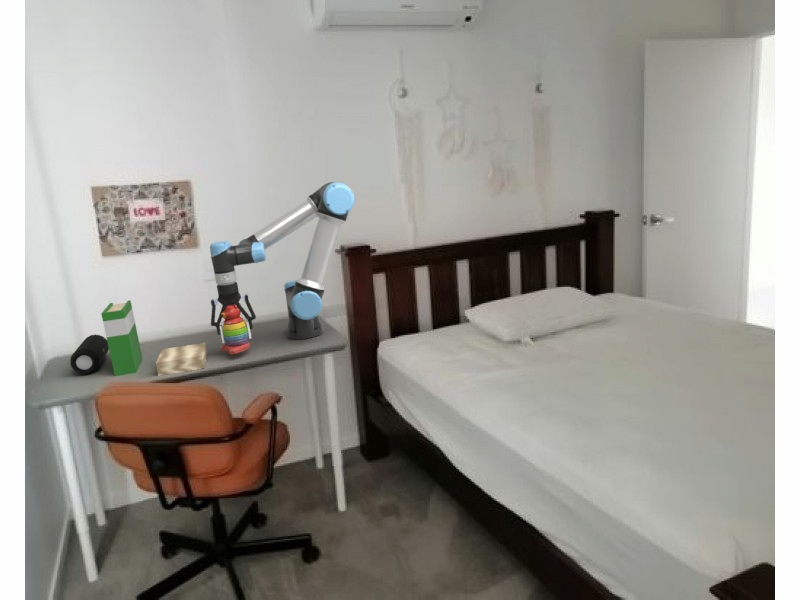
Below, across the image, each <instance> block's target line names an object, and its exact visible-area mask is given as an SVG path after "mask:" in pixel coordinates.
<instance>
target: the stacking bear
mask: <svg viewBox="0 0 800 600" xmlns="http://www.w3.org/2000/svg"><path fill="white" fill-rule="evenodd" d="M241 314H242V313H241V311H240V310H239V309H238V308H237V306H236V305H235V304H234V305H230V306H227V307H226V308H225V311H223V312H222V314H221V316H222V319H224V320H223V324H222V328H223V335H224V339H225V343H224V344H223V345H221V346H220V351H222V352H228V354H230V355H236V354H239V353H242V352H244V351H247V350H249V349H250V348H251V344H250V342H249V334H248V328H247V322H246V321H245V320H244V318H243V317H241Z"/></svg>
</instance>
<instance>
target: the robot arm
mask: <svg viewBox="0 0 800 600" xmlns="http://www.w3.org/2000/svg"><path fill="white" fill-rule="evenodd" d="M355 200H356V199H355V194H354V191H353V190H352V189H351V188H350V187H349V186H348V185H347V184H345V183H343V182H338V181H330V182H327V183H325V184H323V185H322V186H321V187H319V188H318V189H317V190H315V191H314V192H313V193H312V194H310V195H308V196H307V199H306V200H305V201H304V202H302V203H301V204H299V205H297V206H296V207H294V208H292V209H291V210H289V211H287V213H284V214H283V215H281V216H279V217H278V218H277V219H275V220H274V221H272V222H270V223H269V224H267V225H265V226H264V227H262V228H261V229H260V230H257V231H256V232H255V233H253V234H252V235H250V236H248V237H247V238H243V239H242V240H240V241H239V243H238V244H237V245H232V244H231V242H230V241H229V240H223V241H216V242H212V243H211V244H210V246H209V250H210V251H209V252H210V259H211V263H212V267H213V273H214V278H215V279H214V280H215V283H216V290H217V294H218V296H217V297H218V298H215V299H214V298H212V299H211V301H210V304H211V317H210V318H211V319H210V326H211V327H216V331H217V335H218V336H220V337H221V341H222V344H226V341H225V339H224V335H223V324H221V321H222V320H223V317H222V316H221V314H222V312H223V311H225V308H226V307H227V306H230V305H234V304H235V305H236V306H237V308H238V309H239V310H240V311H241V314H242V315H243V316H244V318H245V319H246V325H247V328H248V334H249V336H248V340H251V339H252V332H251V331H252V330H253V328H254V327H253V321H254V320H256V319H257V315H256V313H255V311H254V309H253V306H252V305H251V303H250V300H249V295H248V293H245V294H240V289H239V285H238V282H237V274H236V268H235V266H237V267H238V266H242V265H251V264H259V263H262V262H265V261H266V259H267V258H266V257H267V255H266V249H268V248H270V247H272V246H273V245H275V244H276V243H278V242H279V241H281V240H283V239H284V238H286V237H287V236H288V235H290V234H292V233H294V232H295V231H297V230H298V229H301V227H303V226H304V225H306V224H308V223H309V222H311V221H312V220H314V219H316V218H317V217H318V221H317V224H316V227H315V231H314V234H313V237H312V241H311V244H310V247H309V250H308V254H307V257H306V260H305V264H304V265H303V269H302V273H301V276H300V277H299V278H297V279H296V280H292V281H291V280H290V281H286V282H284V285H283V286H284V292H285V300H286V306H287V308H286V309H287V314H288V321H287V326H286V336H287V338H288V339H289V340H290V339H291V340H305V339H306V338H307V339H312V338H315V336H316V337H318V336H320V335H322V334H323V333H324V326H323V324H322V322H321V320H320V318H319V314H320V313H321V312H322V308H323V296H324V293H325V291H326V289H325V286H324V284H323V283H324V280H325V276H326V273H327V270H328V267H329V264H330V261H331V257H332V254H333V251H334V248H335V245H336V240H337V237H338V235H339V231H340V227H341V225H342V224H345V223H346V222H347V219H348V215H349V212H351V210H352V209H353V207H354V204H355ZM241 299H242V300H243V301H244V303H245V305H246V307H247V310H248V311H249V313H250V315H249V313H248V312H247V311H246V310H245V309H244V307H243V306H242V304H241V302H240V300H241ZM218 303H220V304H221V305H222V306H221V308H220V309H221V310H220V312H219V315H218V318H217V321H215V320H216V308H217V305H218ZM311 337H312V338H311Z"/></svg>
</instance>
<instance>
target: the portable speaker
mask: <svg viewBox="0 0 800 600" xmlns="http://www.w3.org/2000/svg"><path fill="white" fill-rule="evenodd" d="M108 352H109V347H108V342H107V338H105V337H104V336H102V335H100V334H91V335H89V336H87V337H86V338H85V339H84V340H83V341H82V342H81V344H80V345H79V346H78V347H77V349H75V351H74V352H73V353H72V354H71V357H70V366H71V368H72V370H73V371H75V372H76V373H78V374H81V375H88V373H89V374H92V373H93V372H95V371H96V370H97V369H98V368H99V365H100V364H101V363H102V361H103V359H104V357H105V356H106V355H107V353H108Z"/></svg>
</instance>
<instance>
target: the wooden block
mask: <svg viewBox="0 0 800 600" xmlns="http://www.w3.org/2000/svg"><path fill="white" fill-rule="evenodd" d="M207 354H208V349H207V344H206V342H201V343H194V344H187V345H182V346H174V347H168V348H162V350H160V353H159V356H158V358H157V360H156V361H155V366H156V372H157V377H160V375H161V376H167V375H174V374H179V373H185V371H186V372H191V370H192V371H197V369H199V370H203V369H202V368H204V367H205V366H206V364H205V362H206V363H207V359H206V358H208V355H207ZM204 369H205V368H204ZM173 373H174V374H173ZM166 374H167V375H166Z"/></svg>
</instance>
